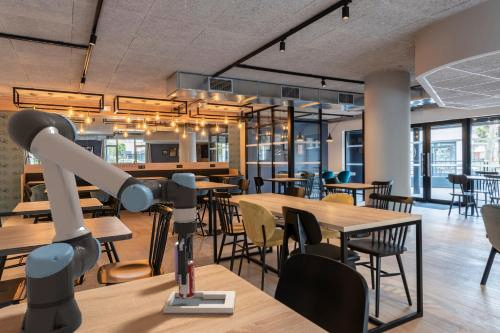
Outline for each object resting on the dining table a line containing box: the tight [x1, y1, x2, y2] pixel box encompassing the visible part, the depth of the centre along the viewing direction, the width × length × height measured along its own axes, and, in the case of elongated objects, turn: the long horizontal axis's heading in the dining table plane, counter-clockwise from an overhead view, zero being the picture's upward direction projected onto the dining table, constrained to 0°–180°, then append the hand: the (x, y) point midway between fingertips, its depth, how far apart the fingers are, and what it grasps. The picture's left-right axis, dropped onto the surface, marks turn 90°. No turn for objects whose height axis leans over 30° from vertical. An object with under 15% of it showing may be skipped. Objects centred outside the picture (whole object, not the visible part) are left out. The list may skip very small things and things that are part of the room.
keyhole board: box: [162, 290, 236, 316], centre depth 105 cm, size 22×12×2 cm, turn 89°
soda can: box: [178, 258, 196, 299], centre depth 105 cm, size 5×5×12 cm
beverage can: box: [173, 241, 179, 284], centre depth 126 cm, size 6×6×15 cm
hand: (186, 289), depth 105 cm, fingers closed on soda can, 5 cm apart
